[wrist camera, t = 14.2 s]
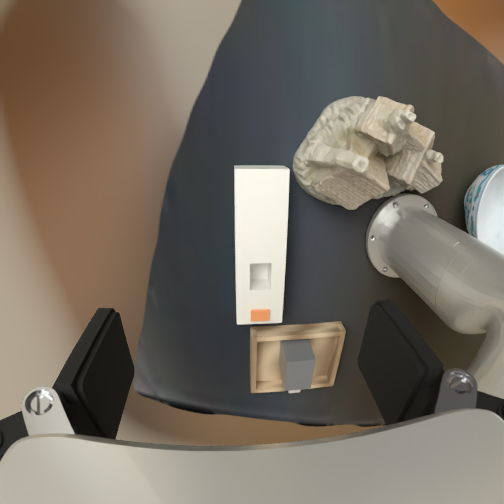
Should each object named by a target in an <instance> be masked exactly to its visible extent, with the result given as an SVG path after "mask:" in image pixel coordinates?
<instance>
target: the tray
mask: <svg viewBox="0 0 504 504" xmlns="http://www.w3.org/2000/svg"><path fill="white" fill-rule="evenodd" d="M345 333H346V330H345V328H344V326H343V325H342V323H341V321H338V322H326V323H313V324H297V325H280V326H257V327H250V387H251V393H262V392H277V391H284V387H283V382H282V377H281V373H280V368H279V353H280V340H296V339H309V342H310V345H311V347H312V350H313V353H314V356H315V359H316V361H315V367H314V373H313V379H312V384H311V388H319V387H328V386H333V384H334V380H335V376H336V372H337V368H338V364H339V360H340V356H341V351H342V347H343V342H344V338H345ZM311 388H309V389H311ZM300 390H301V389H300Z"/></svg>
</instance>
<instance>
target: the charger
mask: <svg viewBox="0 0 504 504" xmlns="http://www.w3.org/2000/svg"><path fill="white" fill-rule="evenodd" d="M315 361H316V359H315V356H314V353H313V350H312V347H311V345H310V342H309V339H296V340H280V353H279V368H280V373H281V377H282V382H283V387H284V391H288V392H289V393H297V392H300V389H309V388H311V384H312V379H313V373H314V367H315Z"/></svg>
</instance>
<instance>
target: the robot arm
mask: <svg viewBox="0 0 504 504" xmlns="http://www.w3.org/2000/svg"><path fill="white" fill-rule="evenodd" d="M366 251H367V255H368V257H369V260H370V262H371V263H372V265H373V266H374V267H375V268H376V269H377V270H378V271H379V272H380V273H382V274H383V275H386V276H388V277H394V278H399V277H400V278H401V279H402V280H403V281H404V282H405V283H406V284H407V285H408V286H409V287H410V288H411V289H412V290H413V291H414V292H415V293H416V294H417V295H418V296H419V297H420V298H421V299H422V300H423V301H424V302H425V303H426V304H427V305H428V306H429V307H430V308H431V309H432V310H433V311H434V312H435V313H436V314H437V315H438V316H439V318H441V319H442V321H443V322H444V323H445V324H446V325H447V326H449V327H450V328H451V329H453V330H454V331H456V332H459V333H462V334H481V333H487V334H486V338H485V340H484V342H483V344H482V346H481V347H480V349H479V351H478V353H477V355H476V356H475V358H474V359H473V361H472V362H471V364H470V365H469V367H468V368H467V370H466V371H465V370H462V369H450V370H448V371H446V372H444V370H443V369H442V368H443V366H444V365H443V364H442V363H441V361H440V360H439V359H438V358H437V356H436V355H435V354H434V352H433V351H432V350H431V348H430V347H429V346H428V345H427V343H426V342H425V341H424V339H423V338H422V337H421V336H420V334H419V333H418V332H417V331H416V329H415V328H414V327H413V326H412V324H411V323H410V322H409V321H408V320H407V318H406V317H405V316H404V315H403V313H402V312H401V311H400V310H399V309H398V307H397V306H396V305H395V304H394V303H393V301H391V300H381V301H376V302H375V304H374V305H372V306H371V308H370V313H369V317H368V321H367V325H366V330H365V334H364V338H363V341H362V345H361V349H360V353H359V356H358V366H359V368H360V370H361V372H362V374H363V377H364V379H365V381H366V383H367V385H368V387H369V389H370V391H371V393H372V395H373V397H374V399H375V402H376V404H377V406H378V408H379V410H380V412H381V414H382V416H383V419H384V421H385V423H386V425H387V426H383V427H379V428H374V429H370V430H365V431H361V432H356V433H350V434H345V435H340V436H333V437H327V438H321V439H313V440H305V441H297V442H288V443H278V444H264V445H246V446H184V445H165V444H153V443H142V442H132V441H122V440H115V439H116V435H117V431H118V427H119V424H120V420H121V417H122V413H123V410H124V406H125V403H126V400H127V396H128V393H129V390H130V386H131V383H132V380H133V377H134V365H133V362H132V359H131V355H130V352H129V348H128V344H127V341H126V337H125V333H124V330H123V326H122V322H121V318H120V314H119V313H117V312H115V310H114V309H113V308H98V310H97V311H96V313H95V314H94V316H93V318H92V319H91V321H90V322H89V324H88V326H87V328H86V329H85V331H84V332H83V334H82V336H81V337H80V339H79V341H78V342H77V344H76V346H75V347H74V349H73V351H72V353H71V354H70V356H69V358H68V360H67V361H66V363H65V365H64V367H63V369H62V370H61V372H60V374H59V376H58V378H57V380H56V382H55V383H54V385H53V387H52V388H50V387H47V386H41V387H36V388H34V389H32V390H30V391H29V392H27V393H26V394H25V396H24V397H23V399H22V402H21V409H22V411H20V412H18V413H16V414H14V415H11V416H9V417H7V418H5V419H2V420H0V504H504V255H503V254H502V253H500V252H498V251H497V250H495V249H493V248H492V247H490V246H488V245H486V244H485V243H483V242H481V241H480V240H478V239H476V238H474V237H473V236H471V235H469V234H467V233H466V232H464V231H462V230H460V229H459V228H457V227H455V226H453V225H451V224H449V223H448V222H446V221H444V220H442V219H440V218H438V216H437V213H436V211H435V209H434V207H433V206H432V205H431V203H430V202H428V201H427V200H426V199H425V198H423V197H421V196H418V195H415V194H410V193H404V194H399V195H396V196H394V197H391V198H390V199H388V200H387V201H385V202H384V203H383V204H382V205H381V206H380V207H379V208H378V209H377V211H376V212H375V213H374V215H373V217H372V219H371V221H370V223H369V226H368V229H367V233H366Z"/></svg>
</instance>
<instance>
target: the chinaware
mask: <svg viewBox="0 0 504 504" xmlns="http://www.w3.org/2000/svg"><path fill="white" fill-rule="evenodd" d="M464 210H465V221H466V226H467V230H468V233H469V235H471V236H473V237H474V238H476V239H478V240H480V241H481V242H483V243H485V244H486V245H488V246H490V247H492V248H493V249H495V250H497V251H498V252H500V253H502V254H503V255H504V164H503V165H497V166H493V167H491V168H489V169H487V170H485V171H484V172H482V173H481V174H480V175H479V176H478V177H477V178H476V179H475V181H474V182H473V184H472V185H471V186H470V187H469V189H468V190H467V192H466V195H465V199H464Z"/></svg>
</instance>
